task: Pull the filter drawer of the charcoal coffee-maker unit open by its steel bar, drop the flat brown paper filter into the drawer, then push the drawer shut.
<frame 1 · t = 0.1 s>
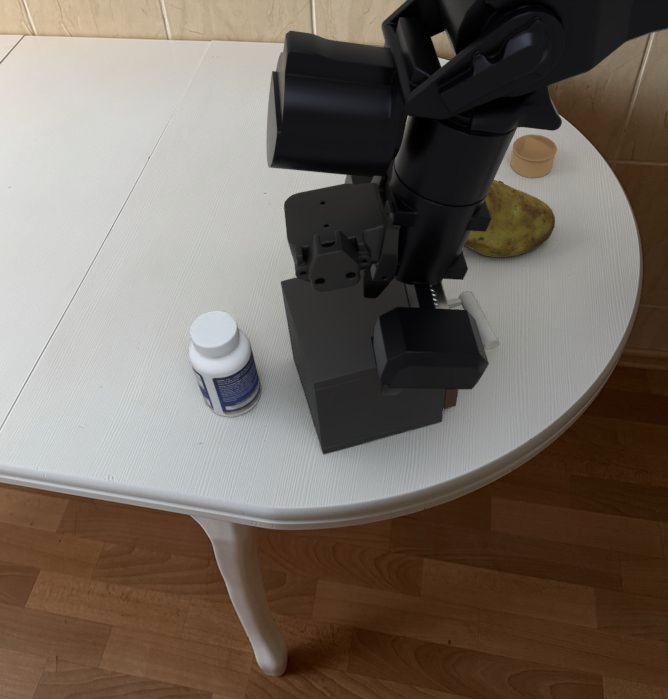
hand: (378, 342, 53), 13 cm above the table, tool pointing down, fingers open, 9 cm apart
drawer: (410, 341, 61), point 6 cm above the table, slide at 0.3 cm
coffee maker: (364, 389, 65), on the table
pill bottle: (233, 395, 66), on the table
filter: (531, 165, 83), on the table
potato: (486, 244, 76), on the table
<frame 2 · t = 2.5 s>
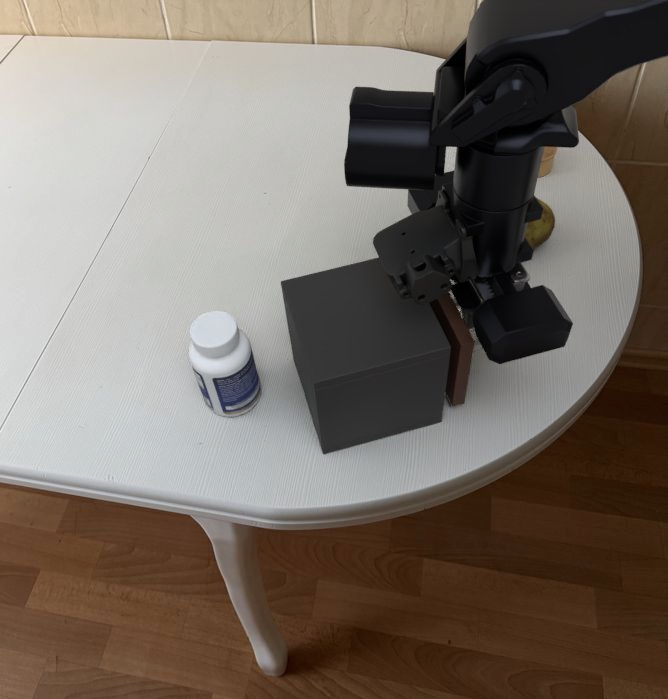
hand: (471, 325, 62), 6 cm above the table, tool pointing down, fingers closed, pressing on drawer
drawer: (419, 339, 62), point 5 cm above the table, slide at 1.1 cm, touching gripper
everything else where it was.
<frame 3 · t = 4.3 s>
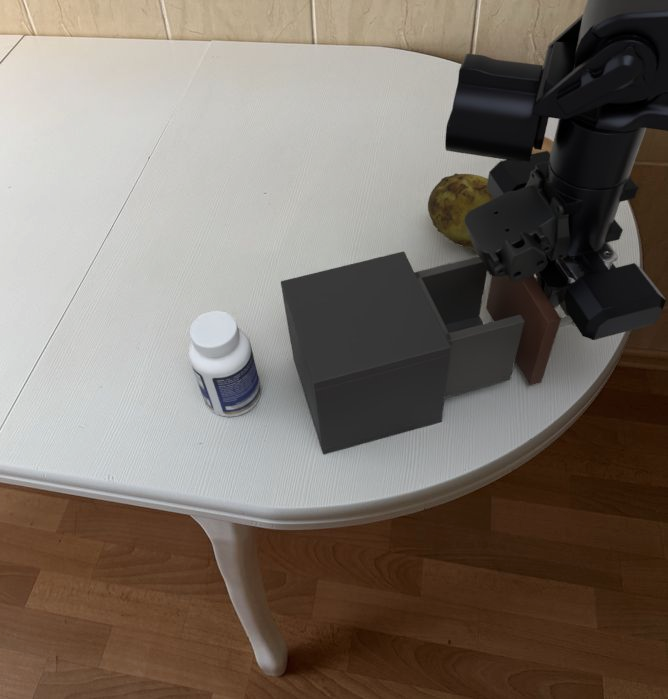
hand: (547, 306, 63), 5 cm above the table, tool pointing down, fingers closed, pressing on drawer
drawer: (497, 318, 62), point 5 cm above the table, slide at 8.5 cm, touching gripper
everything else where it was.
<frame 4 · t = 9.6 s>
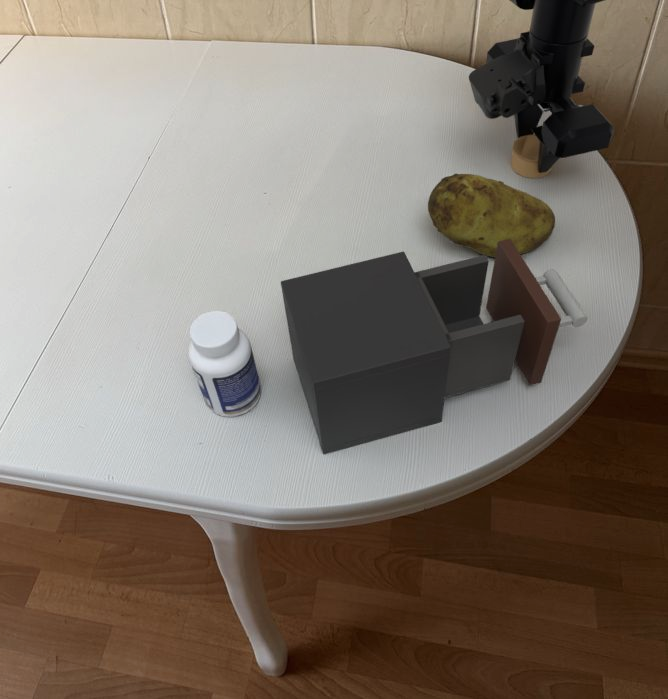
hand: (532, 158, 83), 1 cm above the table, tool pointing down, fingers closed on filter, 5 cm apart
drawer: (497, 318, 62), point 5 cm above the table, slide at 8.5 cm
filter: (531, 165, 83), on the table, touching gripper
everything else where it was.
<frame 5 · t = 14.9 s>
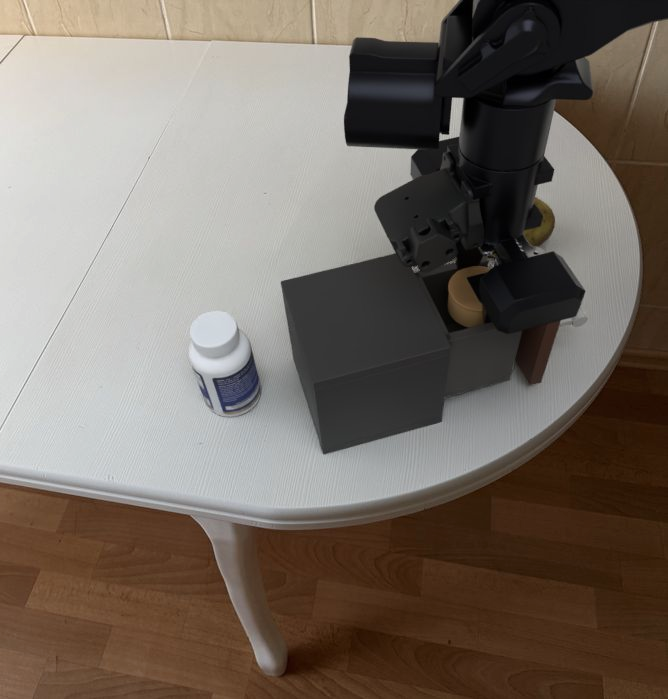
hand: (477, 299, 59), 9 cm above the table, tool pointing down, fingers closed on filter, 5 cm apart
drawer: (497, 318, 62), point 6 cm above the table, slide at 8.5 cm, touching gripper
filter: (475, 307, 60), point 8 cm above the table, touching gripper
everything else where it was.
when the fingers open (12 cm above the table, at t = 31.5 s): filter drops 9 cm, resting on drawer.
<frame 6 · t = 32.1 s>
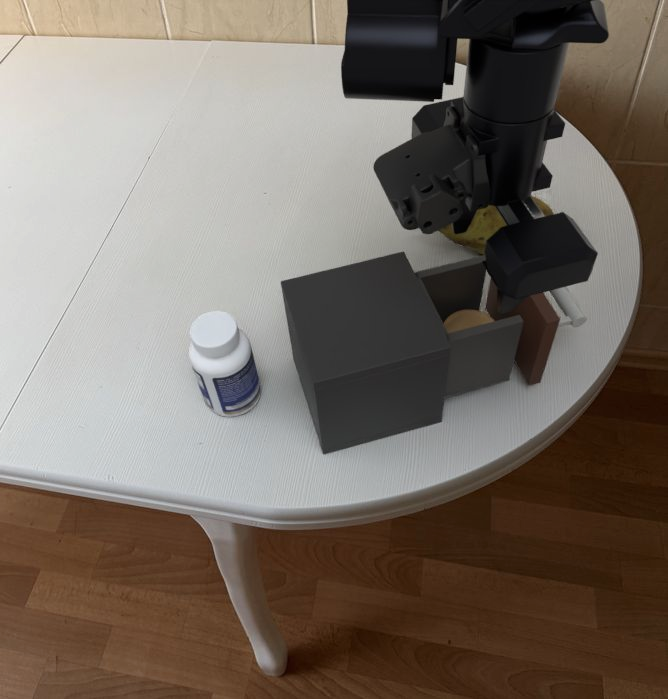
hand: (481, 269, 57), 12 cm above the table, tool pointing down, fingers open, 9 cm apart
drawer: (497, 318, 62), point 6 cm above the table, slide at 8.4 cm, touching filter
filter: (468, 347, 65), point 2 cm above the table, touching drawer
everything else where it was.
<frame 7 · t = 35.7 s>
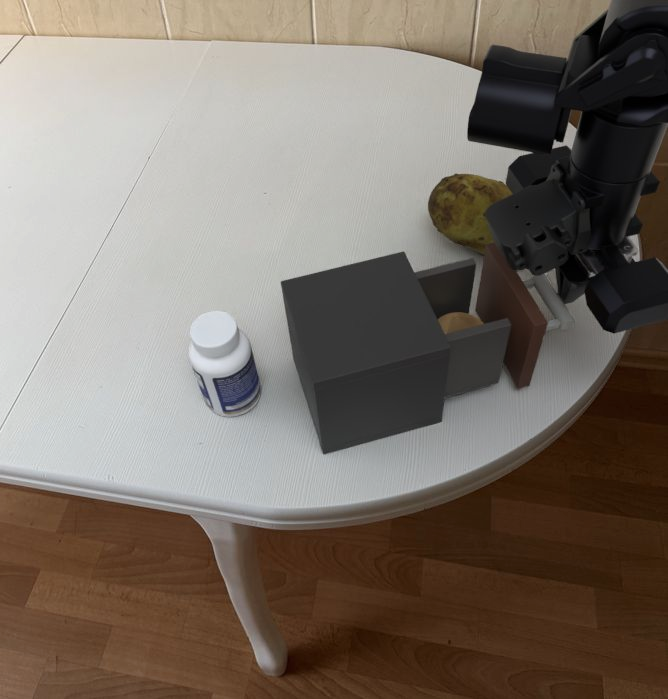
hand: (565, 300, 63), 5 cm above the table, tool pointing down, fingers closed, pressing on drawer
drawer: (485, 321, 62), point 5 cm above the table, slide at 7.4 cm, touching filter, gripper
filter: (457, 350, 65), point 2 cm above the table, touching drawer
everything else where it was.
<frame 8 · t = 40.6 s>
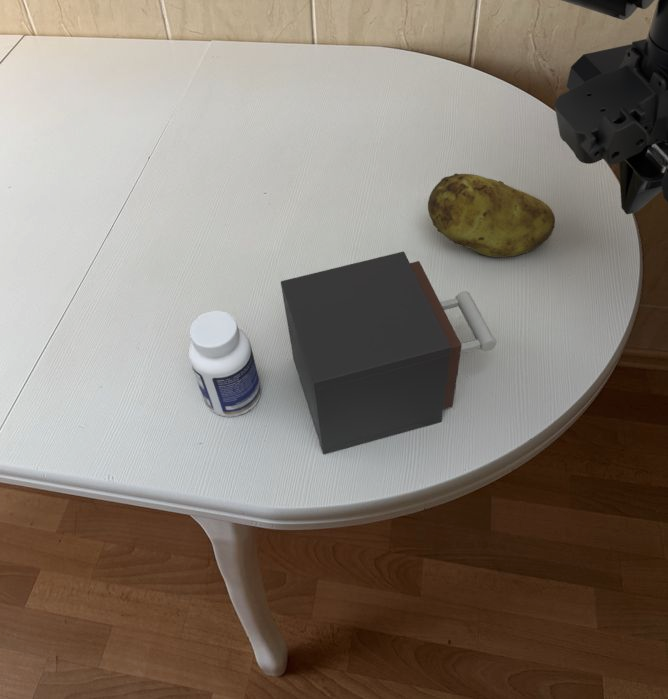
hand: (629, 210, 61), 12 cm above the table, tool pointing down, fingers closed
drawer: (407, 342, 61), point 6 cm above the table, slide at 0.0 cm, touching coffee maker, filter
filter: (381, 370, 64), point 2 cm above the table, touching drawer
everything else where it was.
at the end: drawer pulled out 8.5 cm at the most during the clip, back to where it started at the end; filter inside the target area in the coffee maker (1.6 cm from its centre), point 2.2 cm above the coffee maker's base; drawer slide at 0.0 cm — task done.
